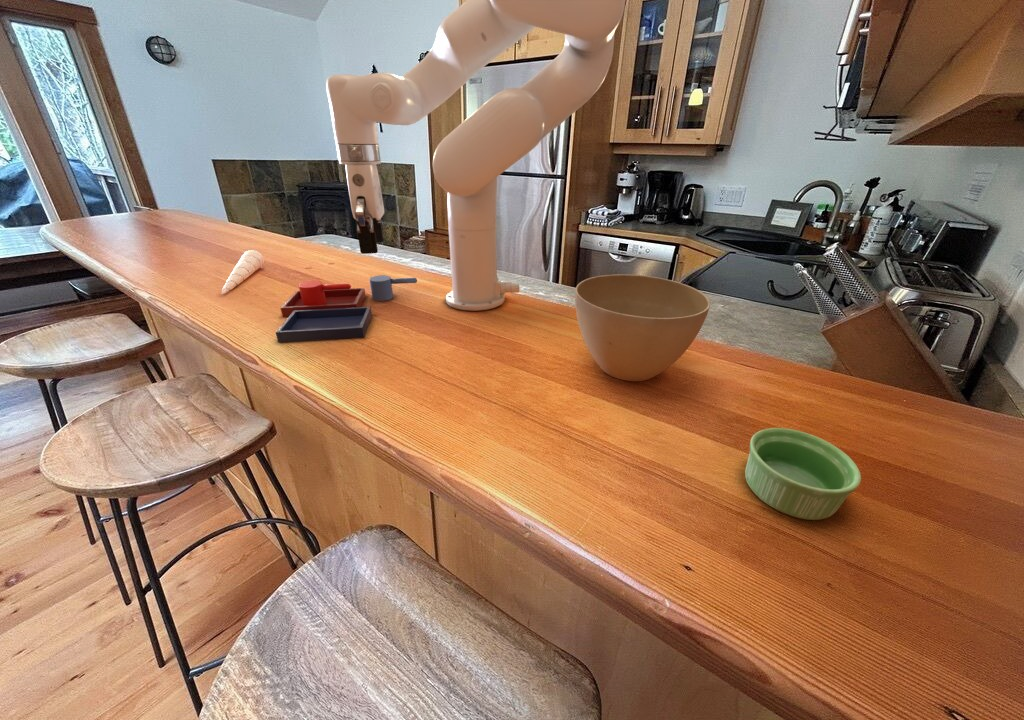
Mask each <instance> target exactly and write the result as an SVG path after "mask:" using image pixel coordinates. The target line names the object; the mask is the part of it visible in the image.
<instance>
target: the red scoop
mask: <svg viewBox="0 0 1024 720" xmlns="http://www.w3.org/2000/svg"><path fill="white" fill-rule="evenodd" d="M340 289H352V285H351V284H350V283H331V284H323V282H322V281H320V280H309V281H304V282H301V283H299V284H298V290H299V291H300V293H301V297H302V301H303V305H304V306H311V305H326V304H327V302H326V298H325V293H324V290H340Z"/></svg>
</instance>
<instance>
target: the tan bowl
mask: <svg viewBox="0 0 1024 720" xmlns="http://www.w3.org/2000/svg"><path fill="white" fill-rule="evenodd" d="M574 294H575V295H574V300H575V313H576V319H577V324H578V329H579V332H580V334H581V336H582V339H583V342H584V344H585V346H586V349H587V350H588V352H589V354H590V355H591V357H592V358H593V359H594V361H595V363H596V364H597V365H598V366H599V369H601V370H602V371H603V372H604V373H605V374H607V375H608V376H610V377H613V378H615V379H618V380H622V381H625V382H626V381H627V382H643V381H647V380H650V379H653V378H654V377H656V376H658V375H659V374H661V373H663V372H664V371H665V370H667V369H668V368H669V367H671V366H672V365H674V364H675V363H676V362H677V361H678V360H679V359H680V358H681V357H682V356H683V355H684V354H685V353H686V352H687V350H688V349H689V348H690V346H691V345H692V344H693V342H694V341H695V339H696V338H697V336H698V334H699V333H700V331H701V329H702V327H703V325H704V324H705V321H706V319H707V316H708V313H709V310H710V308H711V301H710V298H709V297H708V295H706V294H705V293H704V292H702V291H701V290H699V289H697V288H695V287H692V286H690V285H687V284H685V283H682V282H679V281H675V280H672V279H667V278H662V277H658V276H657V277H656V276H651V275H643V274H642V275H641V274H628V273H626V274H623V273H617V274H616V273H615V274H604V275H598V276H597V275H596V276H593V277H588V278H586V279H583V280H582V281H580V282H579V283H578V284H577V285H576V286H575V292H574Z"/></svg>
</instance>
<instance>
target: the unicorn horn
mask: <svg viewBox="0 0 1024 720" xmlns="http://www.w3.org/2000/svg"><path fill="white" fill-rule="evenodd" d="M264 263H265V260H264V257H263V255H262V254H261V253H260V252H259V251H257V250H254V249H249V250H247V251H244V253H243V254H242V255H241V257H240V258H239V260H238V262H237V263H236V265H235V266H234V268H233V269H232V271H231V273H230V274H229V276H228V278H227V279H226V281H225V283H224V285H223V287H222V289H221V295H224V294H227V293H229V292H230V291H231V290H233V289H234V288H236V287H237V286H238V285H240V284H241V283H243V282H244V281H245V280H247V279H248V278H249V277H250V276H251V275H252V274H254V273H255V272H256V271H258V270H259V269H260V268H261V267H262V266H264V265H265V264H264Z"/></svg>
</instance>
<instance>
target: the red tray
mask: <svg viewBox="0 0 1024 720" xmlns="http://www.w3.org/2000/svg"><path fill="white" fill-rule="evenodd" d="M324 293H325V298H326V302H327V304H326V305H311V306H304V305H303V301H302V297H301V293H300V290H296V291H295V292H294V293H292V295H291V296H290V297H289V298H288V299H287V300H286V301H285V302H284V304H282V305H281V307H280V312H281V315H282V318H288V317H289V316H290V315H291V314H292V312H293V311H297V310H317V309H337V308H357V307H362V305H363V303H364V301H365V299H366V296H367V295H366V289H365V287H359V288H358V287H356V288H355V287H353V288H352V287H351V288H350V289H340V290H324Z"/></svg>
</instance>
